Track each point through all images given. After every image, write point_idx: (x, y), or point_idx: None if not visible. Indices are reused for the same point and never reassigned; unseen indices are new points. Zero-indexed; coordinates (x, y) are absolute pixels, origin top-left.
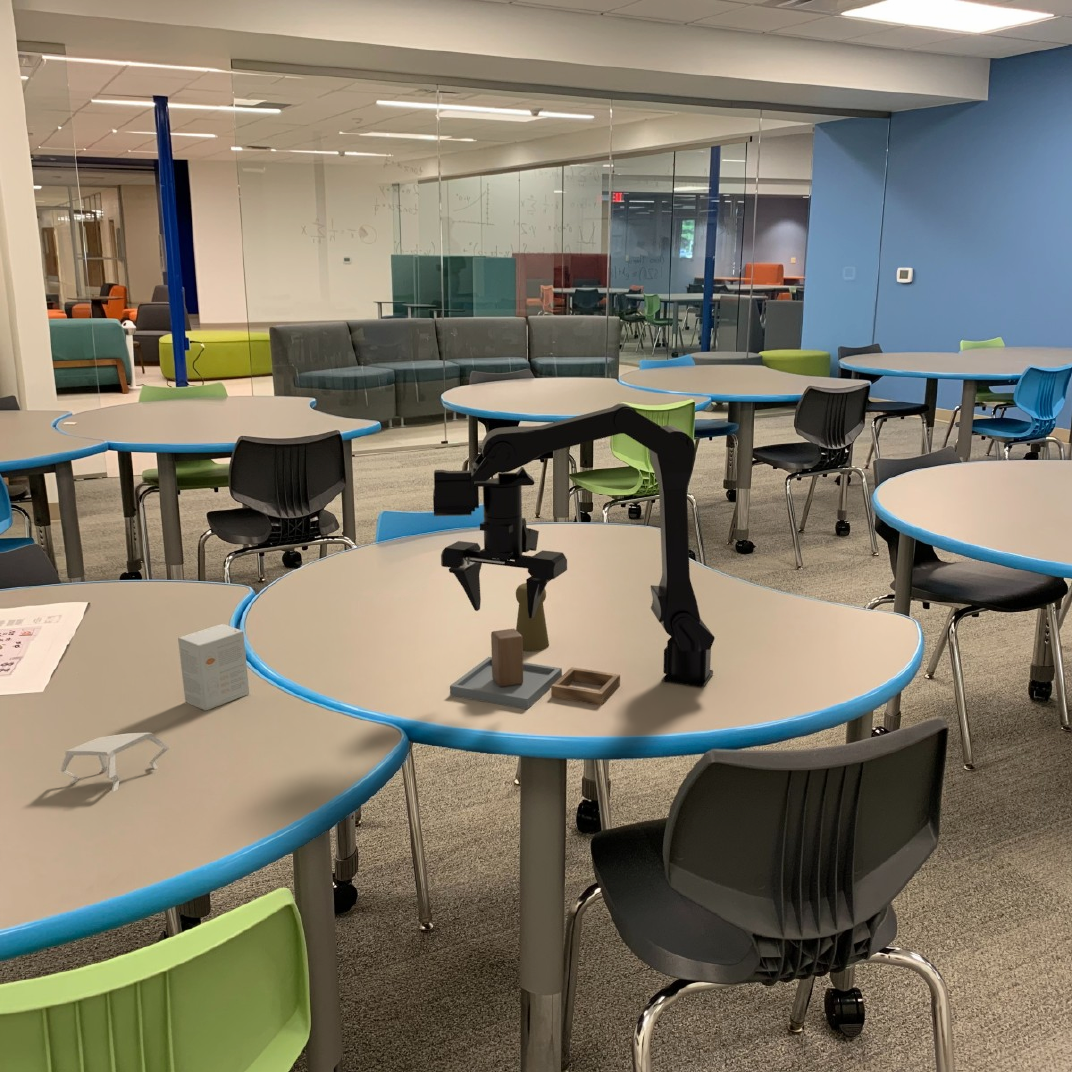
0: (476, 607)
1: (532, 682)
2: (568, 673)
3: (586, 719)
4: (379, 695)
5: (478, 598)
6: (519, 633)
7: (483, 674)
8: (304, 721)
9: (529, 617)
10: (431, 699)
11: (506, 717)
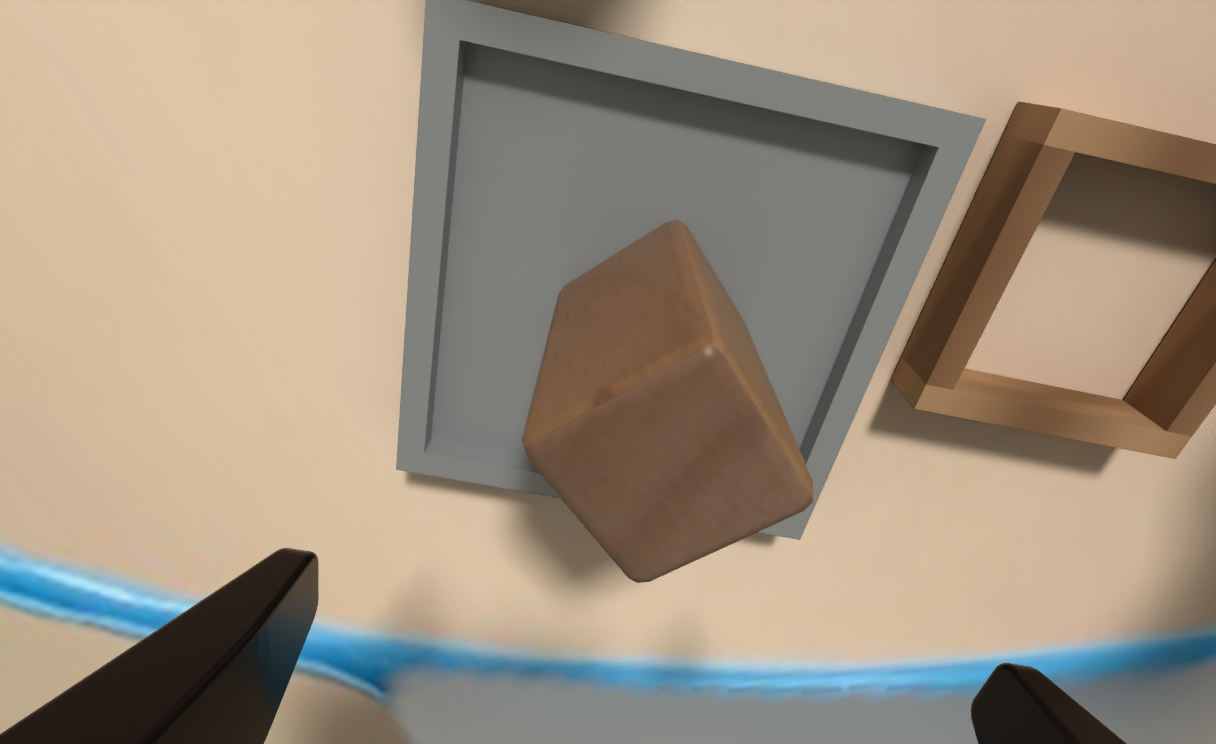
0: (296, 658)
1: (791, 292)
2: (1027, 223)
3: (1039, 548)
4: (112, 483)
5: (237, 710)
6: (784, 452)
7: (486, 231)
8: (34, 688)
9: (977, 726)
10: (350, 484)
11: (712, 576)
